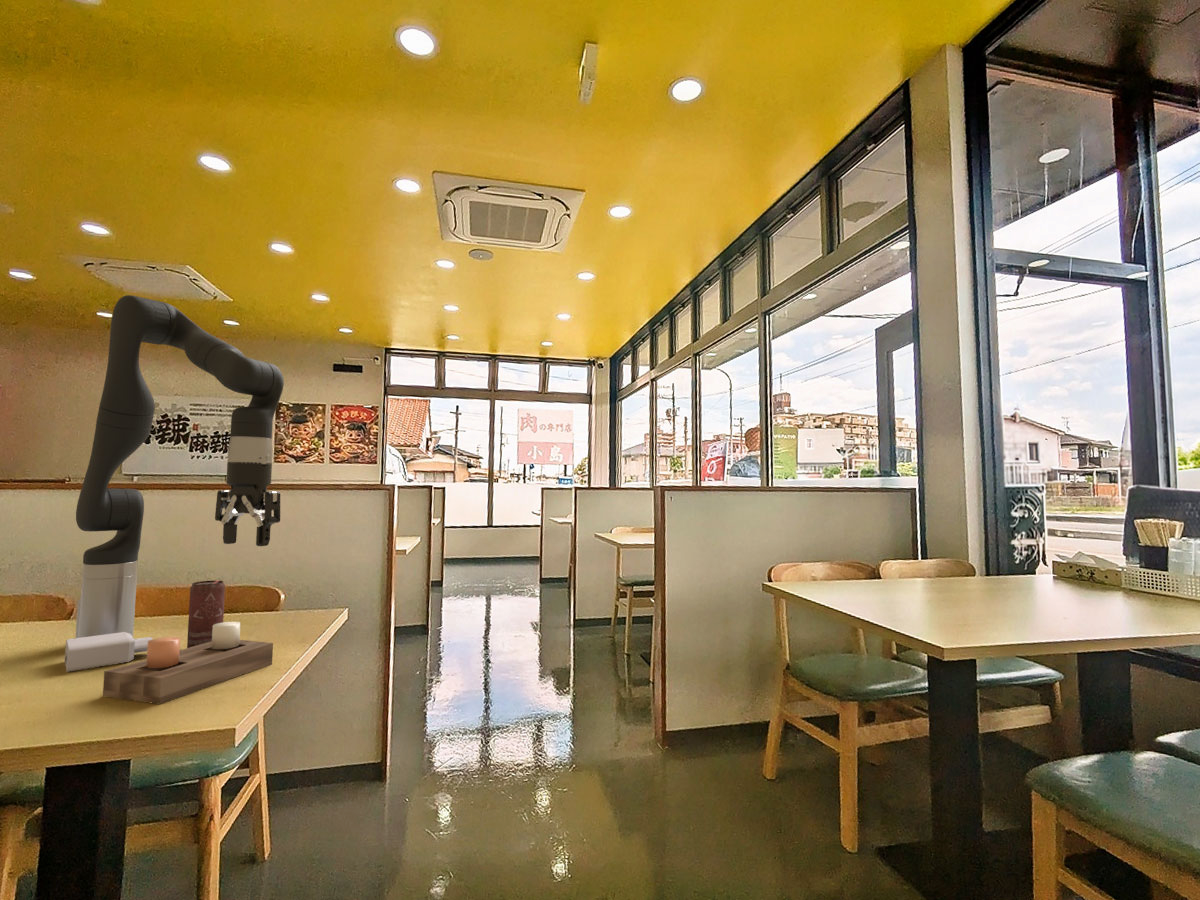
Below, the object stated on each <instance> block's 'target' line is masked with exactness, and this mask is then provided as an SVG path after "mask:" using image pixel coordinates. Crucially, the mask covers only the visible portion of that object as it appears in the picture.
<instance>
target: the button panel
mask: <svg viewBox="0 0 1200 900" xmlns="http://www.w3.org/2000/svg"><path fill="white" fill-rule="evenodd" d="M273 650H274V642H267V641H266V642H265V641H256V640H247V639H245V640H243V639H240V642H239V646H236V647H233V648H228V649H212V642H208V643H204V644H201V645H197V646H194V647H190V648H187V647H186V648H183V649H180V653H179V663H178V664H176V665H173V666H169V667H164V668H147V667H146V665H147V658H146V659H143V660H139V661H136V662H133V663H132V662H131V663H129V664H124V665H122V666H121V665H120V666H119V667H114V668H111V669H107V670H105V671H104V672H103V684H102V685H103V686H102V687H103V688H102V697H103V696H106V697H105V698H111V697H113V698H112V699H118V698H119V700H125V699H127V700H126V701H132V700H136V701H135V702H139V701H145V702H144V703H147V702H152V703H151V704H154V703H159V704H158V705H161V704H160V703H162V704H164V703H163V702H165V703H167V702H170V701H172V699H173V700H175V698H176V699H178V697H179V698H181V697H183V696H187V695H189V693H190V694H192V692H193V693H194V691H195V692H198V691H201V690H203V689H202V688H204V689H206V688H205V687H207V688H209V687H212V686H215V685H217V683H218V684H220V682H221V683H224V682H226V681H229V680H232V679H234V677H235V678H237V677H240V676H243V675H246V674H249V673H252V672H254V671H257V670H260V669H263V668H265V667H268V666H271V665H273V654H274V653H273ZM251 671H252V672H251ZM248 672H249V673H248ZM245 673H246V674H245ZM242 674H243V675H242ZM239 675H240V676H239ZM236 676H237V677H236ZM231 678H232V679H231ZM225 680H226V681H225ZM214 684H215V685H214ZM208 686H209V687H208ZM200 689H201V690H200ZM197 690H198V691H197ZM186 694H187V695H186ZM169 700H170V701H169ZM166 701H167V702H166Z"/></svg>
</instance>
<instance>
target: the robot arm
mask: <svg viewBox="0 0 1200 900" xmlns="http://www.w3.org/2000/svg"><path fill="white" fill-rule="evenodd" d="M111 314H112V316H111V321H110V332H109V345H108V346H109V347H108V357H107V367H106V372H105V377H104V379H105V380H104V382H103V383H104V385H103V389H102V393H101V398H100V402H99V406H98V411H97V416H96V420H95V430H94V435H93V436H94V437H93V440H92V446H91V447H92V448H91V453H90V457H89V462H88V466H87V469H86V471H85V476H84V479H83V481H82V485H81V489H80V492H79V496H78V500H77V503H76V510H75V520H76V521H75V522H76V525H77V527H78V528H79V529H80V530H81V531H83V532H111V531H112V532H114V531H116V534H115V535H114V536H113V537H112V538H111V539H109V540H108V541H106V542H103V543H101V544H99V545H97V546H93V547H89V548H88V549H86V550H85V551H84V552H83V555H82V571H81V572H82V573H81V588H80V589H81V592H80V598H78V600H77V606H76V607H77V609H76V621H75V622H76V624H75V625H76V626H75V638H82V637H89V636H97V635H105V634H113V633H121V632H126V633H129V634H131V635H132V637H133V638H134V629H135V627H134V626H135V613H136V611H135V609H136V599H137V597H136V595H137V581H138V580H137V579H138V559H139V552H140V551H139V550H140V547H141V537H142V530H143V529H142V528H143V520H144V514H145V499H144V496H143V494H142V492H141V491H140V490H138V489H136V488H108V486H109V484H110V481H111V479H112V477H113V475H114V473H115V472H116V471H117V469H118V468H119V467H120V466H121V465H122V464H123V463H124V462H125V461H126V460H127V459H128V458H129V457H130V456H131V455H132V454H133V453H135V452H136V451H137V450H138V449H139V448H140V447H141V446H142V445H143V444H144V443H145V442H146V440H147V439H148V438H149V436H150V433H151V431H152V426H153V422H154V421H153V419H154V416H155V411H156V405H155V400H154V398H153V396H152V392H151V390H150V389H149V386H148V383H147V382H146V380H145V378H144V376H143V373H142V372H141V368H140V349H141V344H142V343H146V344H150V345H151V344H152V345H158V346H159V345H160V346H161V345H162V346H163V345H166V346H170V347H174V348H176V349H180V350H182V351H184V353H185V355H186V357H187V359H188V360H189V361H190V362H191V363H192V364H193V365H195V366H196V367H197V368H199V369H200V370H202V371H205V372H206V373H208V374H210V375H211V376H214V377H215V379H216V380H217V381H218V382H219V383H220V384H221V385H222V386H224V388H226V389H228V390H230V391H232V392H235V393H238V394H242V395H249V396H251V398H250V399H251V400H250V401H249V404H248V406H239V407H236V408H235V409H233V411H232V412H231V417H230V419H231V421H230V435H229V438H230V439H229V442H228V448H227V464H226V479H225V481H226V482H225V483H226V484H227V486H228V485H229V486H230V490H228V489H227V490H225V489H224V490H222V489H219V490H218V491H217V492H216V493H217V494H216V503H215V513H214V519H215V521H217V522H221V524H222V525H223V530H222V540H223V541H222V542H223V544H224V545H231V544H236V542H237V537H238V536H237V535H238V534H237V531H238V524H237V523H238V521H239V519H240V518H241V517H242V516H244V515H245V514H249V515H250V516H251V517H252V518H254V520H255V522H256V524H257V525H258V526H257V527H256V533H255V534H256V537H255V545H256V546H257V547H265V546H268V545H269V543H270V540H271V528H272V525H275V524H276V523H280V522H281V492H280V491H268V486H271V484H272V471H273V439H272V437H273V420H274V417H275V414H276V411H277V407H278V405H279V402H280V399H281V396H282V394H283V390H284V386H285V382H284V375H283V373H282V371H281V369H280V368H279V367H278V366H277V365H275V364H273V363H270V362H266V361H262V360H258V359H253V358H251V357H246V356H245V355H244V353H243V352H242V351H241V350H239V349H238V348H237V347H236V346H234V345H232V344H230V343H228V342H226V341H224V340H222V339H220V338H218V337H216V336H215V335H213V334H211V333H209V332H208V331H206V330H204V329H203V328H201V327H200V326H198V325H197V324H196V322H194V321H192V320H191V319H190V318H188V316H187V315H185V314H184V313H183V312H182V311H180V309H178V308H176V306H174V305H172V304H169V303H167V302H163V301H162V300H161V301H160V300H155V299H150V298H145V297H141V296H136V295H131V294H128V295H127V294H126V295H123V296H122V297H120V298H119V299H118V300H117V302H116V304H115V305H114V307H113V311H112V313H111ZM223 509H224V514H223ZM272 512H273V516H272Z"/></svg>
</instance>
